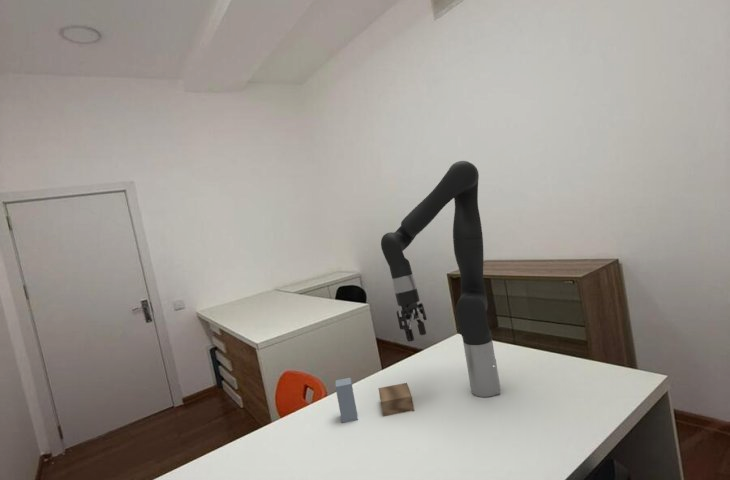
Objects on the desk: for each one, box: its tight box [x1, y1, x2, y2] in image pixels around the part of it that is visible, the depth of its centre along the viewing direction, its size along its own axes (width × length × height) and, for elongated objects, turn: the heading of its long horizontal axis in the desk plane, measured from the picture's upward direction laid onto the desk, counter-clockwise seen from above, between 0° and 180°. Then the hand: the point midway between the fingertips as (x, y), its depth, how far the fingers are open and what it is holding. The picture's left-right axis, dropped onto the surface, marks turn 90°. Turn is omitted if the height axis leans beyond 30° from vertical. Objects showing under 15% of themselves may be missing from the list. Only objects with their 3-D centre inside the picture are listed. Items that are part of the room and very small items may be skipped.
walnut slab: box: [378, 382, 415, 417], centre depth 129 cm, size 10×10×5 cm
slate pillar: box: [335, 377, 358, 424], centre depth 127 cm, size 5×5×12 cm
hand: (417, 337), depth 130 cm, fingers open, 8 cm apart
